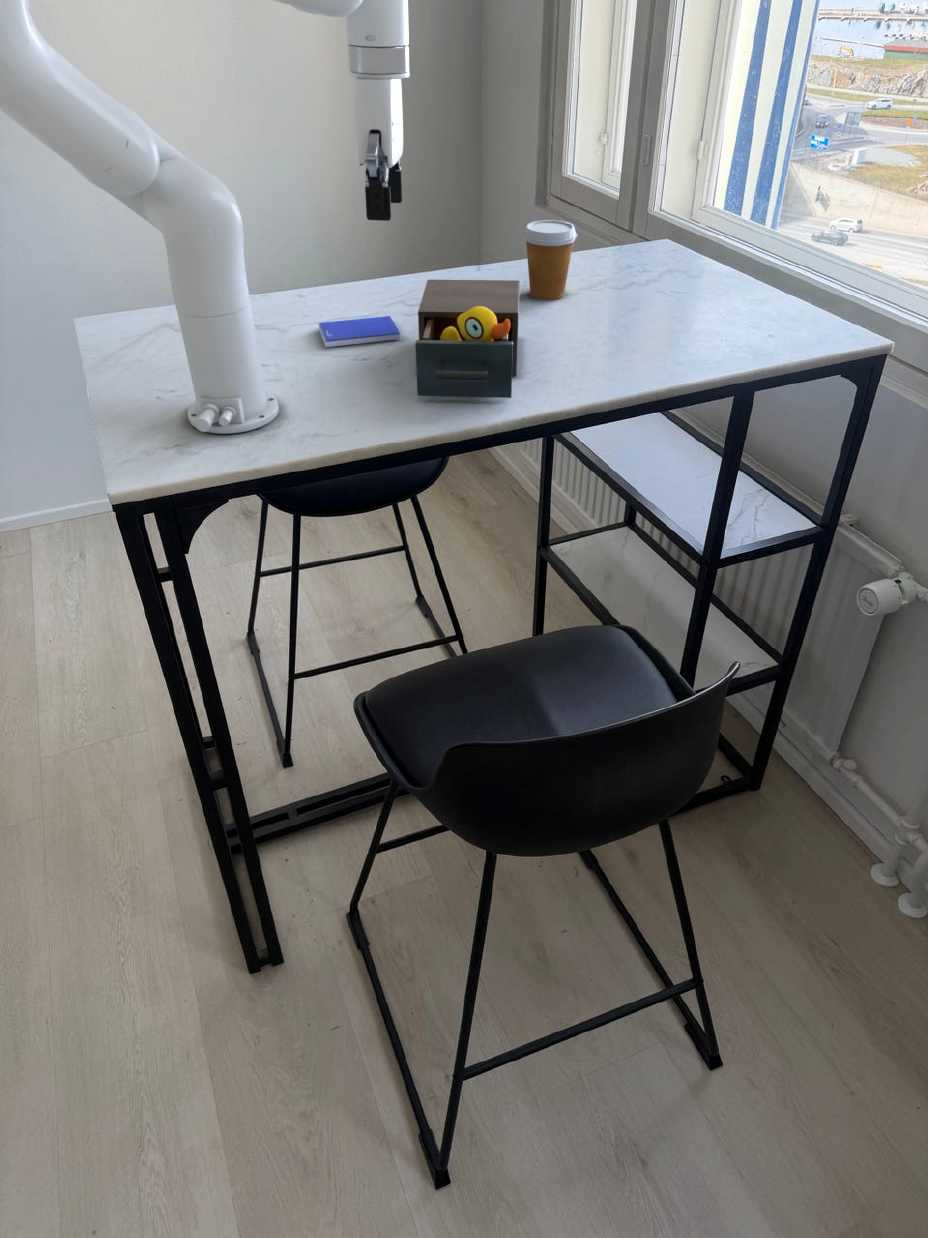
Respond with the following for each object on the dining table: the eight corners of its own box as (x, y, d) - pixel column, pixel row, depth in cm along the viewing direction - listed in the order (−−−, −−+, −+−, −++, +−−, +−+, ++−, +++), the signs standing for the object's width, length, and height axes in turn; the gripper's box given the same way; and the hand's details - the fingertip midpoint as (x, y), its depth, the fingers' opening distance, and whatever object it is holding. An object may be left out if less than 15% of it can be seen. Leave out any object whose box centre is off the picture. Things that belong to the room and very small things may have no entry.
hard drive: (325, 339, 141) (399, 331, 144) (318, 321, 147) (389, 314, 150) (326, 348, 142) (400, 340, 145) (319, 330, 148) (390, 323, 151)
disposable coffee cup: (574, 302, 158) (579, 233, 151) (522, 303, 158) (524, 233, 151) (570, 286, 166) (574, 219, 158) (520, 286, 166) (522, 219, 158)
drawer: (510, 413, 121) (512, 359, 116) (413, 412, 121) (410, 357, 116) (513, 360, 135) (514, 310, 130) (426, 359, 136) (424, 308, 131)
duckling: (519, 372, 127) (518, 305, 121) (503, 387, 124) (500, 318, 118) (453, 361, 132) (448, 295, 126) (435, 375, 129) (429, 308, 122)
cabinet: (516, 376, 133) (518, 312, 127) (420, 374, 134) (417, 311, 127) (517, 340, 144) (519, 280, 138) (429, 339, 145) (427, 279, 139)
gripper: (362, 54, 115) (369, 195, 125) (334, 69, 101) (345, 225, 112) (418, 55, 114) (420, 197, 125) (398, 71, 100) (403, 228, 111)
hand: (385, 210), depth 118 cm, fingers open, 9 cm apart
